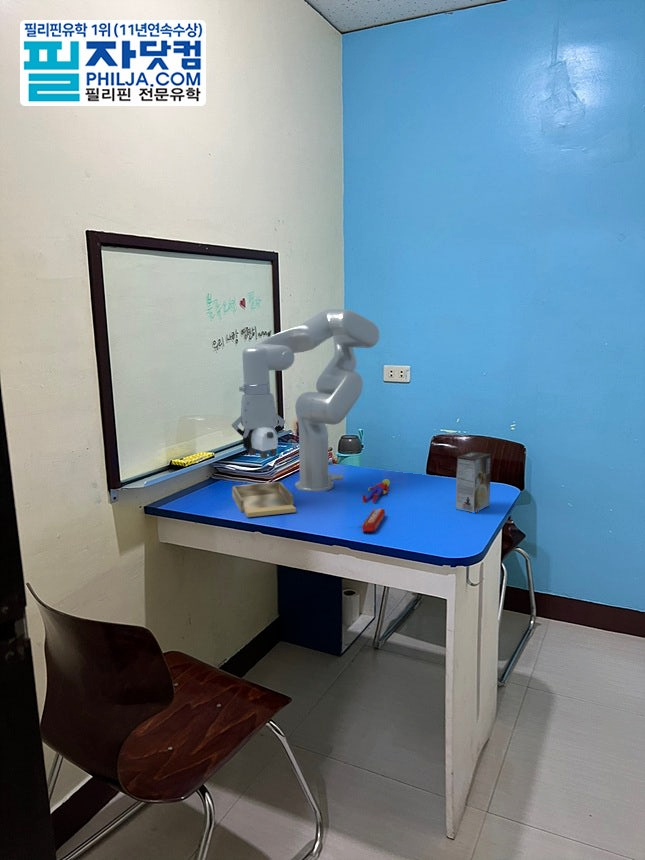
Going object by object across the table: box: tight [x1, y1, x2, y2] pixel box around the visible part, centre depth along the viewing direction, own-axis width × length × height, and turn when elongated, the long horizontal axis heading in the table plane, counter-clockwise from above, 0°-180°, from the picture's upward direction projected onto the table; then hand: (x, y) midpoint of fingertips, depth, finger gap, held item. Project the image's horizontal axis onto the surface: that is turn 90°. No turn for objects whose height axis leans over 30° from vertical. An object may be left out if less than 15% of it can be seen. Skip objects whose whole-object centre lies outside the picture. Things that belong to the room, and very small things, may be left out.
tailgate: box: [244, 504, 297, 518], centre depth 181 cm, size 14×1×4 cm
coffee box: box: [455, 451, 492, 513], centre depth 184 cm, size 9×6×16 cm
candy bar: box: [362, 508, 386, 533], centre depth 173 cm, size 16×4×3 cm, turn 163°
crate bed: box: [231, 481, 294, 513], centre depth 192 cm, size 16×16×4 cm
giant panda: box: [242, 427, 279, 459], centre depth 188 cm, size 15×6×10 cm, turn 39°
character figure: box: [362, 478, 391, 503], centre depth 200 cm, size 6×4×20 cm
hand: (259, 448), depth 189 cm, fingers closed on giant panda, 7 cm apart
